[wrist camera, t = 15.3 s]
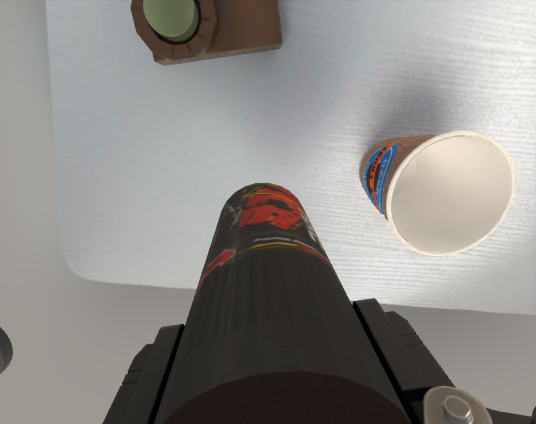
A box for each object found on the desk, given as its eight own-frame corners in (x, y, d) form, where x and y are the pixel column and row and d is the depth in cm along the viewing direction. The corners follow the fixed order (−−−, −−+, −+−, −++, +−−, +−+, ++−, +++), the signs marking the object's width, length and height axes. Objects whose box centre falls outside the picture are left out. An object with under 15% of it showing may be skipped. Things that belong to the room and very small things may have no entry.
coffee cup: (351, 119, 33) (402, 125, 22) (441, 126, 34) (537, 135, 22) (338, 208, 36) (376, 253, 25) (420, 213, 37) (493, 259, 26)
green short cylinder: (157, 45, 26) (150, 39, 24) (145, -9, 25) (136, -19, 23) (203, 38, 26) (198, 32, 24) (193, -16, 25) (188, -26, 23)
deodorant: (202, 235, 21) (91, 509, 6) (252, 164, 19) (247, 318, 5) (272, 277, 22) (306, 583, 8) (323, 214, 21) (477, 447, 6)
